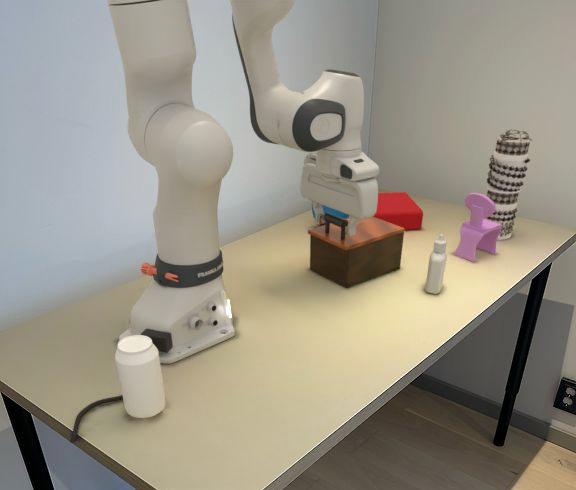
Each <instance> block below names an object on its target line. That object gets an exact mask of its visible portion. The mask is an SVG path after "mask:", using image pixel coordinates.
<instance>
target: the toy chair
mask: <svg viewBox="0 0 576 490" xmlns="http://www.w3.org/2000/svg"><path fill="white" fill-rule="evenodd" d="M464 205H465V206H466V207H467V209H468V210H469V212H470V215H469V216H470V217H469V220H467V221H463V222H462V224H461V227H460V229H459V231H460V239H459V243H458V246H457V247H456V248H455V251H453V253H452V254H453V255H454V256H457V257H458V258H459V257H460V258H463V259H465V260H466V261H469V262H472V263H475V262H476V251H477V249H479V250H482V251H485V252H487V253H490V254H493V255H496V254H497V243H498V242H497V241H498V240H497V238H498V236H499V234H500V232H501V226H502V224H499V223H495V222H491V221H488V220H486V219H485V218H487V217H490V216H491V215H492V214H493V213H494V211H495V209H496V206H495V203H494V202H493V201H492V200H491V199H490V198H488V197H487V195H485V194H482V193H479V192H470V193H468V194H466V196H465V199H464Z"/></svg>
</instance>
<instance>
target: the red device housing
mask: <svg viewBox="0 0 576 490" xmlns="http://www.w3.org/2000/svg"><path fill="white" fill-rule="evenodd" d="M373 217H375V218H378V219H381V220H383V221H386V222H389V223H392V224H394V225H397V226H400V227H402V228H405V229H404V231H413V230H415V231H417V230H422V225H423V218H424V211H423V209H422V208H421V207H420V206H419V205H418V204H417V203H416V201H414V199H413V198H412V197H411V196H410V195H409V194H408V193H407V192H406V191H397V192H394V191H393V192H378V203H377V211H376V213H375V214H374V216H373Z"/></svg>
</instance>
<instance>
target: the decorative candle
mask: <svg viewBox="0 0 576 490" xmlns="http://www.w3.org/2000/svg"><path fill="white" fill-rule="evenodd" d="M532 141H533V139H532V138H530V135H529V133H528V132H527V131H524V130H520V129H506V130H504V131H502V132H501V134H500V135H499V136H496V143H495V148H494V150H493V154H492V155H491V156H490V157H489V161H490V163H488V169H489V170H488V172H487V178H486V183H487V184H486V186H485V188H486V189H487V191H486V196H487V197H488V198H490V199H491V200H492V201H493V202H494V203H495V206H496V209H495V211H494V213H493V214H492V215H491V216H490V217H487V218H485V219H486V220H488V221H491V222H495V223H499V224H502V226H501V232H500V234H499V236H498V238H497V241H500V240H501V241H502V240H507V239H510V238H511V237H512V232H513V231H514V229H513V227H514V225H515V221H514V219H515V218H516V217H517V216H516V213H517V212H518V209H517V206H518V202H519V201H518V198H519V193H520V192H521V191H522V190H523V189H522V186H524V182H523V181H522V179H524V178H526V176H527V174H526V173H525V172H527V170H528V169H529V168H528V167H527V165H526V164H527V163H529V162H531V159H530V158H529V148H530V145H531V144H530V143H531V142H532Z"/></svg>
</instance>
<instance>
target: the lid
mask: <svg viewBox="0 0 576 490" xmlns="http://www.w3.org/2000/svg"><path fill="white" fill-rule="evenodd" d="M323 219H324V221H325V224H322V225H321V226H320V227H319V226H316V227H314V228H310V229H307V234H308V235H313V236H315V237H317V238H319V239H322V240H324V241H326V242H328V243H331V244H333V245H335V246H337V247H340V248H342V249H344V250H349V249H352V248H355V247H359V246H362V245H365V244H368V243H371V242H374V241H377V240H380V239H383V238H386V237H389V236H392V235H395V234H399V233H402V232H404V233H405V230H404V229H405V228H402V227H400V226H397V225H394V224H392V223H389V222H386V221H383V220H381V219H378V218H375V217H370V218H367V219H363V220H360V222H359V224H358V225H357V226H356V234H355V235H353V236H349V235H347V234H345V231H346V230H345V226H349V224H350V222H351V220H349V218H348V219H342V218H340V217H337V216H335V215H332V214H330V213H325V214H324V216H323Z"/></svg>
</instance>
